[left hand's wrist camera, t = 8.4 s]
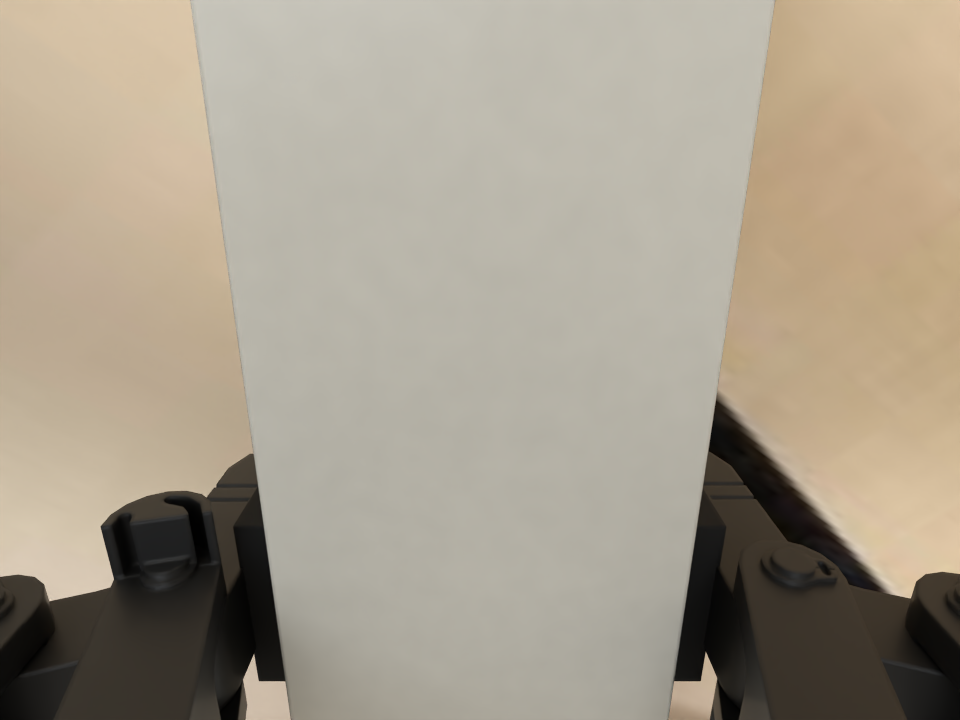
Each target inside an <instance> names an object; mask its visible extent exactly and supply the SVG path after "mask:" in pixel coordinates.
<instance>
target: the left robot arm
mask: <svg viewBox="0 0 960 720" xmlns="http://www.w3.org/2000/svg"><path fill="white" fill-rule="evenodd" d="M753 497H754V496H753V495H752V493H751V492H750V491H749V489H748V488H747V487H746V486H744V485H743V481H742V480H741V479H740V477H739V476H738V474H737V473H736V472H735V470H734V469H733V468H732V466H730V465H729V464H727V463H726V462H724V461H723V460H721V459H720V458H718V457H717V456H715V455H714V454H712V453H711V452H708V455H707V462H706V469H705V475H704V482H703V489H702V495H701V502H700V509H699V516H698V522H697V529H696V536H695V542H694V549H693V556H692V563H691V569H690V576H689V583H688V590H687V596H686V603H685V610H684V616H683V623H682V630H681V637H680V643H679V650H678V657H677V663H676V670H675V677H674V681H701V676H702V670H703V664H704V658H705V652H706V653H707V655H708V657H709V660H710V662H711V664H712V667H713V669H714V671H715V674H716V676H717V683H716V689H715V694H714V700H713V705H712V711H711V716H710V720H960V574H954V573H946V572H939V573H931V574H925V575H924V576H923V577H922V578H920V579H919V580H918V581H916V584H915V588H914V591H913V594H912V597H911V599H909V598H905V597H900V596H895V595H890V594H886V593H881V592H876V591H871V590H867V589H862V588H859V587H855V586H851V585H849V584H848V582H847V580H846V578H845V577H844V575H843V574H842V573H841V571H840V570H839V568H838V567H837V566H836V565H835V564H834V563H832V562H831V561H830V560H828V559H827V558H826V557H824V556H823V555H822V554H820V553H818V552H815V551H813V550H811V549H809V548H807V547H805V546H802V545H799V544H795V543H791V542H788V541H787V540H786V539H785V537H784V536H783V535H782V533H781V532H780V531H779V529H778V528H777V527H776V525H775V524H774V523H773V521H772V520H771V519H770V517H769V516H768V515H767V513H766V512H765V511H764V509H763V508H762V507H761V505H760V504H759V503H758V501H757V500H756V499H754V498H753ZM101 530H102V534H103V538H104V542H105V546H106V549H107V553H108V557H109V561H110V565H111V569H112V573H113V577H114V581H113V583H112V586H111V588H107V589H103V590H100V591H96V592H92V593H87V594H82V595H77V596H73V597H68V598H63V599H59V600H54V601H49V599H48V596H47V593H46V589H45V586H44V584H43V583H42V582H40V581H39V580H38V579H36V578H35V577H30V576H23V575H12V576H4V577H0V720H245V719H246V710H247V702H246V695H245V689H244V683H243V678H244V676H245V673H246V671H247V669H248V666H249V664H250V662H251V659H252V657H253V655H255V661H256V667H257V673H258V678H259V681H285V674H284V667H283V659H282V652H281V645H280V638H279V631H278V624H277V617H276V609H275V602H274V595H273V588H272V581H271V574H270V566H269V559H268V552H267V545H266V538H265V531H264V524H263V516H262V509H261V502H260V495H259V488H258V481H257V474H256V466H255V459H254V454H249V455H248V456H246V457H245V458H243V459H242V460H240V461H239V462H237V463H236V464H234V465H233V466H231V467H230V468H228V470H227V471H226V472H225V474H224V475H223V476H222V478H221V479H220V480H219V482H218V483H217V486H216V488H214V489H213V490H212V491H211V493H210V494H209V495H208V497H207V498H206V497H205V496H203V495H202V494H198V493H194V492H189V491H171V492H164V493H159V494H155V495H150V496H146V497H144V498H141V499H139V500H136V501H134V502H131V503H129V504H127V505H125V506H124V507H122V508H120V509H119V510H117V511H116V512H114V513H113V514H111V515H110V516H109V517H108V519H107V520H106V521H105V522H104V523H103V524H102V526H101Z"/></svg>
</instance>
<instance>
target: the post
mask: <svg viewBox="0 0 960 720" xmlns="http://www.w3.org/2000/svg"><path fill="white" fill-rule="evenodd" d="M190 2H191V9H192V16H193V23H194V30H195V37H196V45H197V52H198V59H199V66H200V73H201V80H202V87H203V95H204V102H205V109H206V116H207V123H208V130H209V138H210V145H211V152H212V159H213V166H214V173H215V180H216V188H217V195H218V202H219V209H220V216H221V223H222V230H223V238H224V245H225V252H226V259H227V266H228V273H229V280H230V288H231V295H232V302H233V309H234V316H235V323H236V331H237V338H238V345H239V352H240V359H241V366H242V373H243V381H244V388H245V395H246V402H247V409H248V416H249V423H250V431H251V438H252V445H253V452H254V459H255V466H256V474H257V481H258V488H259V495H260V502H261V509H262V516H263V524H264V531H265V538H266V545H267V552H268V559H269V566H270V574H271V581H272V588H273V595H274V602H275V609H276V617H277V624H278V631H279V638H280V645H281V652H282V659H283V667H284V674H285V681H286V688H287V695H288V702H289V709H290V717H291V720H668V717H669V711H670V704H671V697H672V690H673V684H674V677H675V670H676V663H677V657H678V650H679V643H680V637H681V630H682V623H683V616H684V610H685V603H686V596H687V590H688V583H689V576H690V569H691V563H692V556H693V549H694V542H695V536H696V529H697V522H698V516H699V509H700V502H701V495H702V489H703V482H704V475H705V469H706V462H707V455H708V448H709V442H710V435H711V428H712V421H713V415H714V408H715V401H716V395H717V388H718V381H719V374H720V368H721V361H722V354H723V348H724V341H725V334H726V327H727V321H728V314H729V307H730V301H731V294H732V287H733V280H734V274H735V267H736V260H737V253H738V247H739V240H740V233H741V227H742V220H743V213H744V206H745V200H746V193H747V186H748V180H749V173H750V166H751V159H752V153H753V146H754V139H755V132H756V126H757V119H758V112H759V106H760V99H761V92H762V85H763V79H764V72H765V65H766V59H767V52H768V45H769V38H770V32H771V25H772V18H773V11H774V5H775V0H190Z"/></svg>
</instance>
